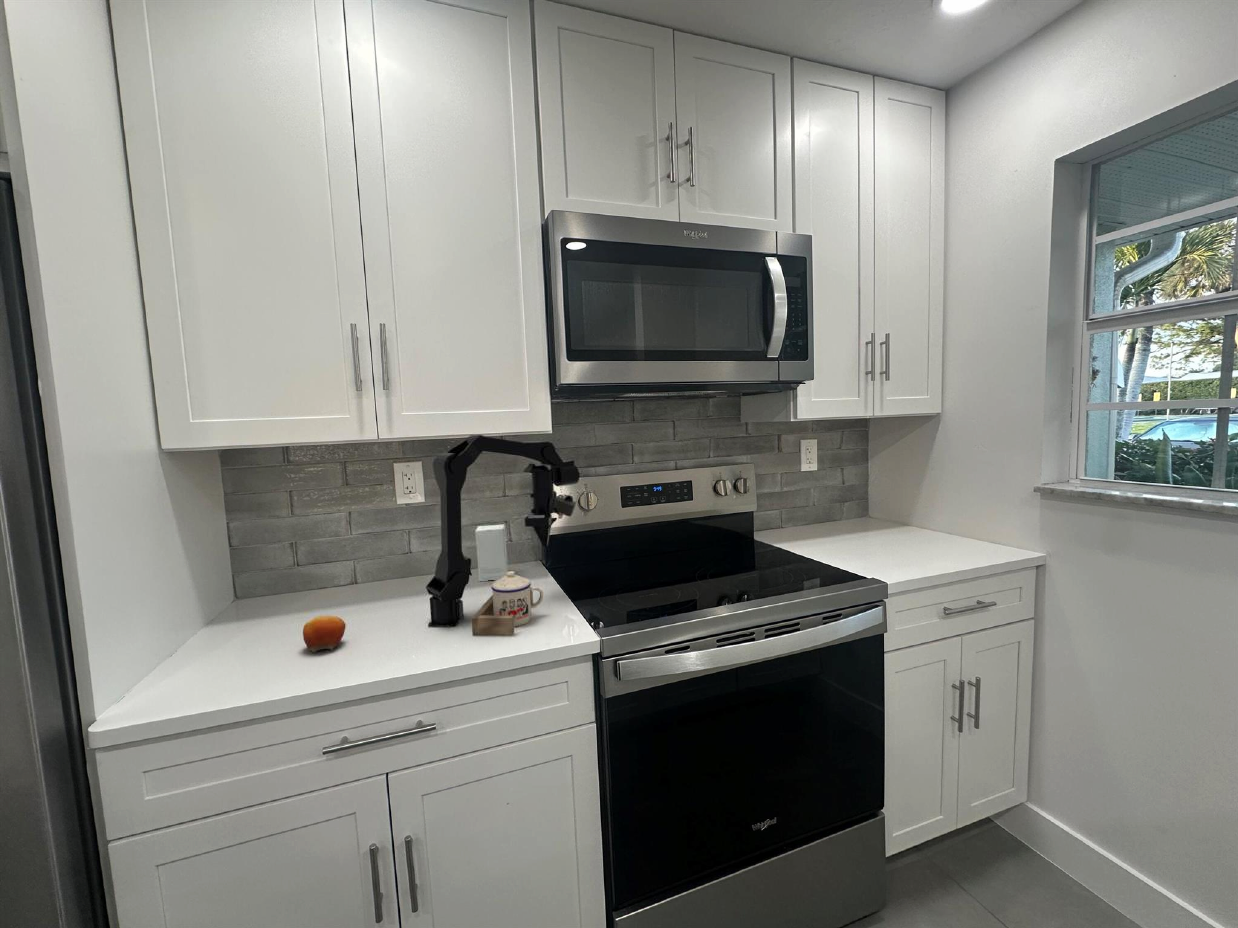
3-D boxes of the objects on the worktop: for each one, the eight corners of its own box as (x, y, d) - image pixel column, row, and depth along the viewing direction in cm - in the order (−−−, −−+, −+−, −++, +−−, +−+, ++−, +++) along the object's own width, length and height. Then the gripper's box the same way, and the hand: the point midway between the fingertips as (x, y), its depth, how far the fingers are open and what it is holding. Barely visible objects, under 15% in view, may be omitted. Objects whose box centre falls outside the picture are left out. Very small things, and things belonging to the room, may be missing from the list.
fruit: (299, 655, 109) (299, 615, 112) (305, 661, 116) (305, 623, 119) (344, 647, 112) (343, 608, 115) (347, 653, 119) (346, 616, 122)
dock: (472, 635, 120) (471, 618, 120) (498, 603, 140) (497, 588, 139) (512, 635, 119) (511, 617, 119) (533, 603, 139) (532, 588, 139)
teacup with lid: (496, 630, 123) (493, 580, 121) (490, 616, 131) (488, 569, 130) (548, 621, 127) (546, 573, 126) (539, 609, 135) (537, 563, 134)
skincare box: (508, 573, 166) (506, 523, 165) (506, 580, 159) (504, 528, 158) (480, 575, 165) (477, 525, 164) (477, 582, 158) (474, 529, 157)
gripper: (567, 493, 134) (569, 555, 136) (578, 483, 153) (580, 537, 154) (522, 494, 135) (525, 555, 137) (539, 484, 154) (541, 538, 155)
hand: (545, 546), depth 146 cm, fingers closed
